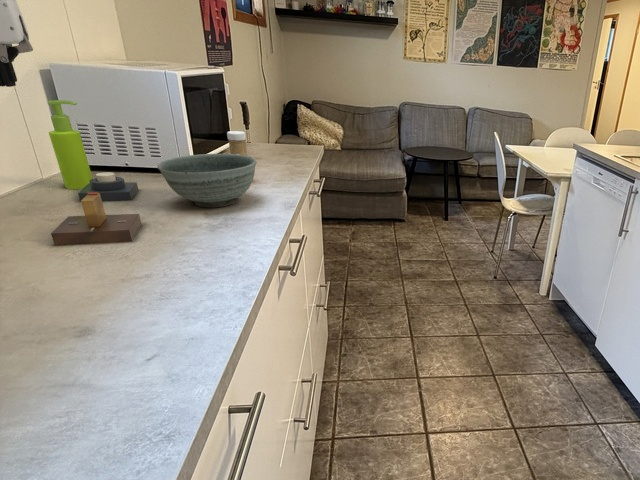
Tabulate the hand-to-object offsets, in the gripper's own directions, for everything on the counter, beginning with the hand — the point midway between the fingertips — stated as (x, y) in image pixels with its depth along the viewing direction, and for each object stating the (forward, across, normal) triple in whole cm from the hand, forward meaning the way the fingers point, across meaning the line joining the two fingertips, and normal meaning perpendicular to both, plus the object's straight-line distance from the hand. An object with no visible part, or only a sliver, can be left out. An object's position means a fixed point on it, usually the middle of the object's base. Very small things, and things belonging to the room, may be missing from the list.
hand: (7, 85), depth 87 cm
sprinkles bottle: (+25, +37, +26) cm, 52 cm away
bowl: (+25, +31, +6) cm, 40 cm away
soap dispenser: (+25, 0, +24) cm, 35 cm away
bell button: (+21, +8, +14) cm, 27 cm away
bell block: (+25, +8, +14) cm, 30 cm away
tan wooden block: (+22, +12, -14) cm, 29 cm away
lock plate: (+25, +12, -14) cm, 31 cm away
